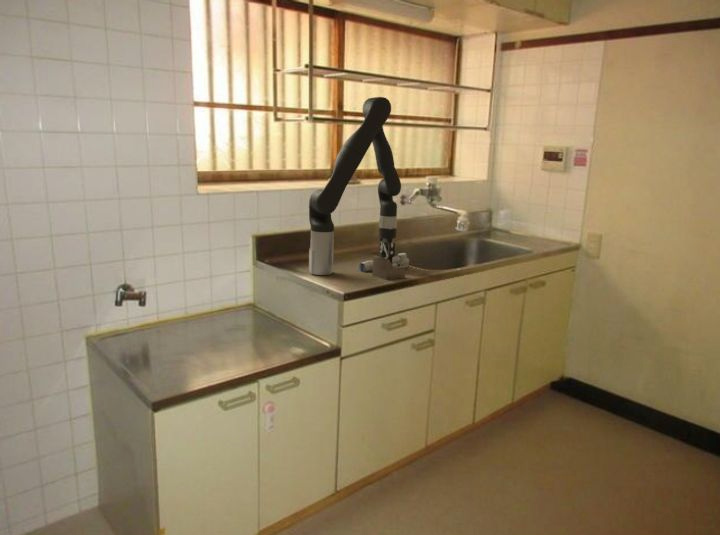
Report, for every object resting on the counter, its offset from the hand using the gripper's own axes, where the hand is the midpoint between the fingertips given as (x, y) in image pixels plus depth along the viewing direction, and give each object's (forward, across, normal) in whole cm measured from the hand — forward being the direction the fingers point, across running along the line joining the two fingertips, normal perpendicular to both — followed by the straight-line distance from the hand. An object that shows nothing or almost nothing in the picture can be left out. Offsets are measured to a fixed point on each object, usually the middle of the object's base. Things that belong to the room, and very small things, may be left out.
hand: (386, 264), depth 228 cm
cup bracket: (+2, +14, -3) cm, 15 cm away
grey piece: (+3, 0, 0) cm, 3 cm away
